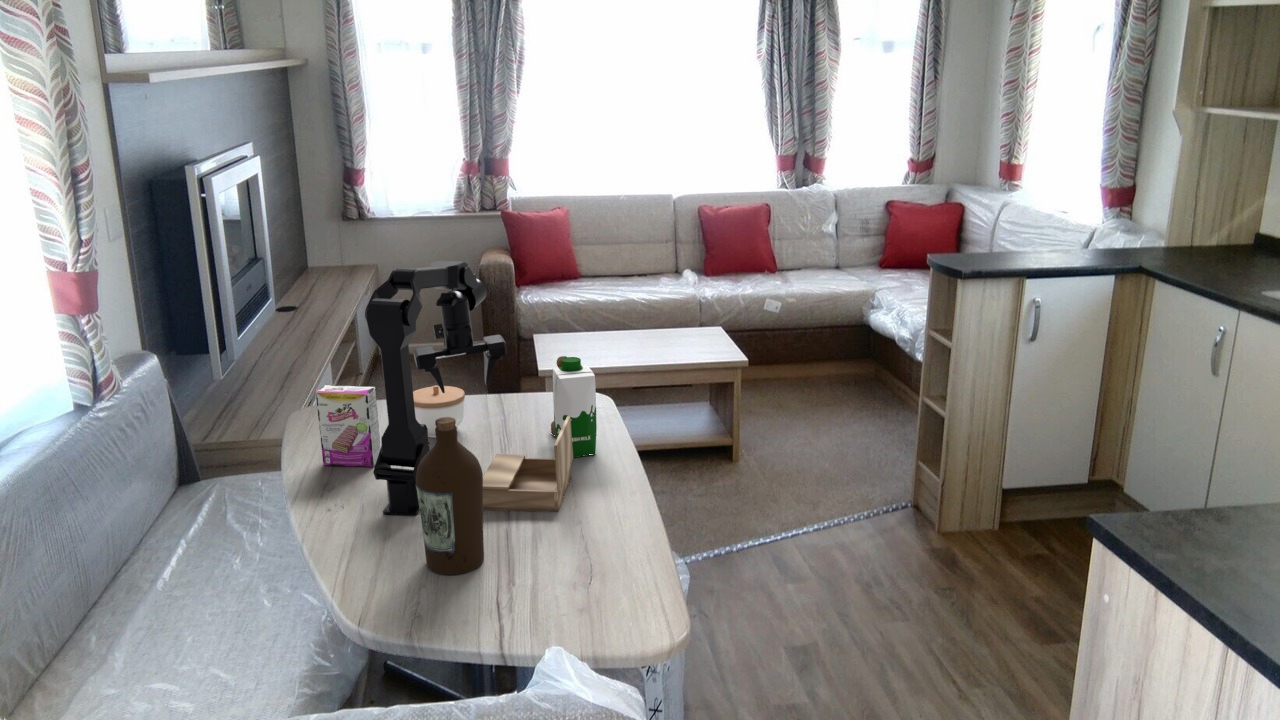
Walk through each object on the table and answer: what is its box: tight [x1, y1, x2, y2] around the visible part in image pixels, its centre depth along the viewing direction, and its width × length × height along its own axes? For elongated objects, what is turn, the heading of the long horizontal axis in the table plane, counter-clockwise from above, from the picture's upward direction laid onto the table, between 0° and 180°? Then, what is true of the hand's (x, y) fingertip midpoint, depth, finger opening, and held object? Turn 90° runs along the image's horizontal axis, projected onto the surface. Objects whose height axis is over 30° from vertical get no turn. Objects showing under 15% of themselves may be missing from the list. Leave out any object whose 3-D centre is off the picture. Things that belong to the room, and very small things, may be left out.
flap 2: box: [553, 416, 574, 491], centre depth 181 cm, size 16×9×1 cm
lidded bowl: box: [413, 384, 466, 439], centre depth 215 cm, size 13×13×11 cm
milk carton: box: [552, 356, 598, 458], centre depth 202 cm, size 9×9×20 cm
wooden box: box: [483, 457, 572, 512], centre depth 184 cm, size 16×15×4 cm
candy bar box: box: [315, 384, 381, 468], centre depth 197 cm, size 11×5×16 cm, turn 84°
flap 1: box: [483, 453, 526, 490], centre depth 183 cm, size 16×6×1 cm, turn 175°
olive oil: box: [416, 417, 485, 576], centre depth 154 cm, size 11×11×25 cm
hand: (465, 388), depth 202 cm, fingers open, 9 cm apart
